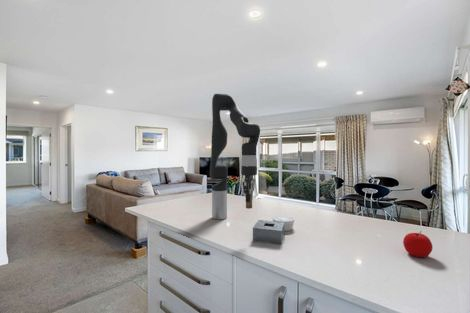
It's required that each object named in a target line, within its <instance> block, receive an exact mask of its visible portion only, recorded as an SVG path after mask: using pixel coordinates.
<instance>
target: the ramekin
mask: <svg viewBox="0 0 470 313" xmlns="http://www.w3.org/2000/svg"><path fill="white" fill-rule="evenodd" d="M272 221H275V222H284V232H288V231H291V230H293V228H294V224H295V223H294V222H295V218H293V217H291V216H288V215H287V216H286V215H277V216H274V217H273V218H272Z"/></svg>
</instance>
